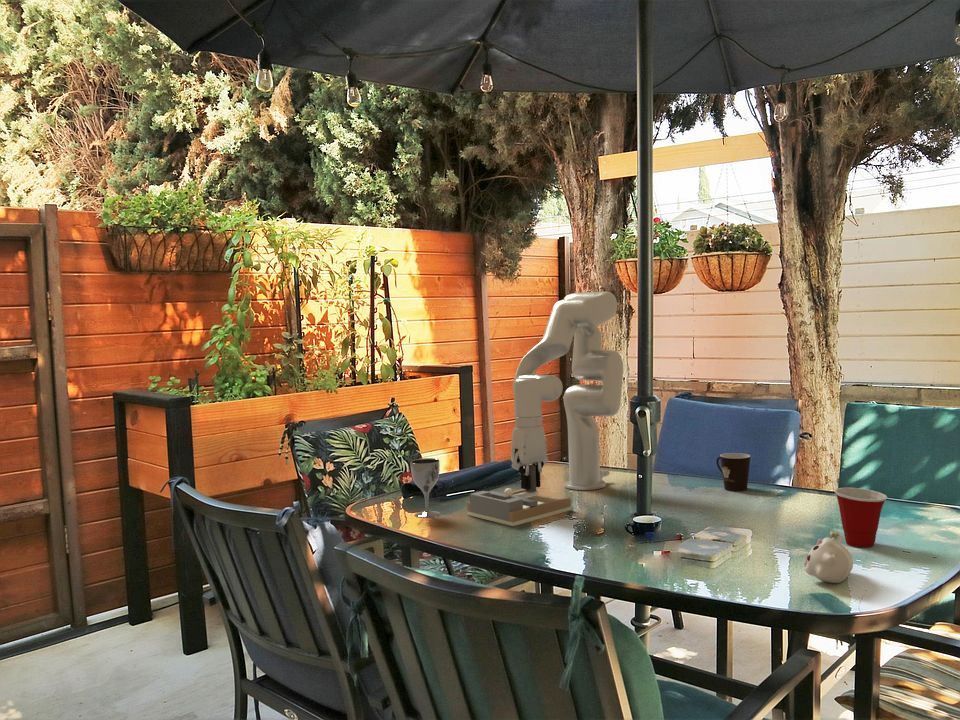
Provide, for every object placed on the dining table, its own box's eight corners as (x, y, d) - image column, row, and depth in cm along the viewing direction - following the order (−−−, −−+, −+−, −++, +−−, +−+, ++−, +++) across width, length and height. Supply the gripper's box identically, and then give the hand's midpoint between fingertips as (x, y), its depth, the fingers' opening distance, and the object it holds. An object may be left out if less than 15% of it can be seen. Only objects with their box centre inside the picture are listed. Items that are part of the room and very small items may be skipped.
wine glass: (443, 510, 232) (441, 457, 232) (439, 518, 225) (437, 463, 224) (415, 511, 233) (413, 458, 232) (410, 518, 225) (408, 463, 224)
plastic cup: (887, 553, 179) (886, 498, 179) (832, 548, 184) (832, 495, 184) (888, 540, 189) (888, 488, 188) (837, 535, 194) (836, 485, 193)
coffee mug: (754, 491, 241) (754, 457, 240) (725, 492, 241) (724, 458, 240) (742, 483, 252) (742, 450, 252) (714, 484, 253) (713, 451, 252)
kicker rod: (514, 498, 238) (513, 461, 238) (560, 507, 225) (558, 468, 224) (484, 505, 231) (482, 467, 230) (529, 516, 217) (527, 475, 216)
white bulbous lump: (830, 522, 171) (822, 532, 158) (866, 546, 168) (861, 558, 155) (804, 559, 173) (794, 572, 160) (840, 583, 170) (833, 599, 157)
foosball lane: (525, 500, 241) (524, 480, 241) (570, 510, 228) (570, 488, 227) (467, 514, 227) (466, 493, 226) (512, 526, 213) (511, 503, 213)
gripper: (539, 417, 237) (541, 481, 238) (497, 424, 226) (500, 491, 227) (558, 419, 231) (561, 484, 232) (516, 427, 221) (519, 495, 222)
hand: (530, 487), depth 230 cm, fingers closed on kicker rod, 3 cm apart
